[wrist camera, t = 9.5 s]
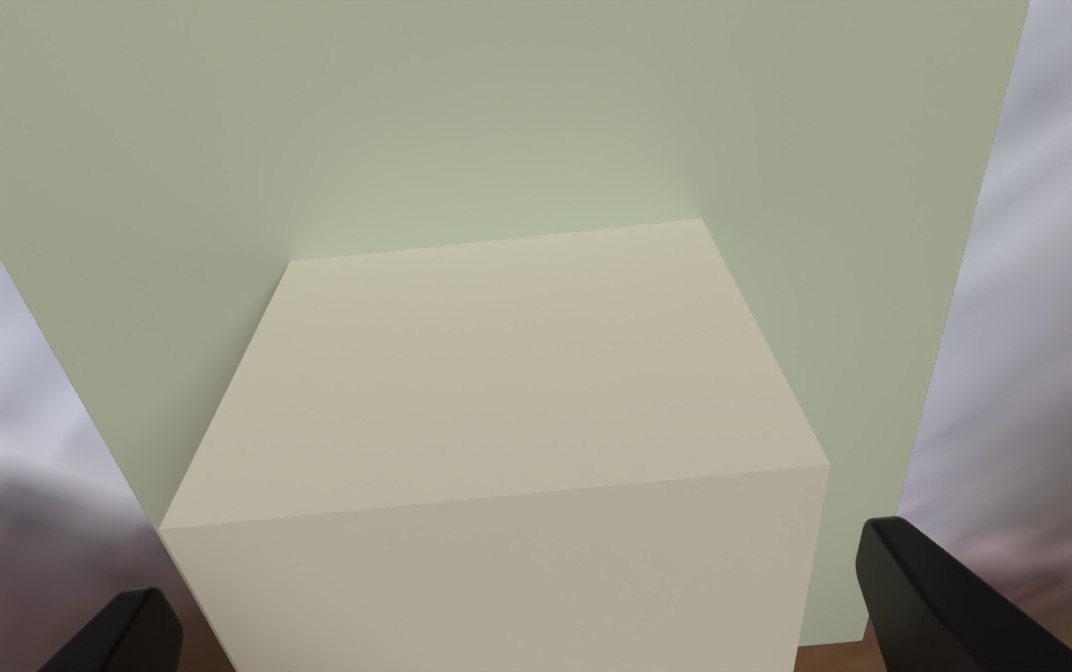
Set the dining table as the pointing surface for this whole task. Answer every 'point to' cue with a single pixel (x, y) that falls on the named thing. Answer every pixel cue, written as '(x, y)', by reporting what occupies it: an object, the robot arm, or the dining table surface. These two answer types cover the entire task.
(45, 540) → the dining table surface
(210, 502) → the block
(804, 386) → the stub plate
